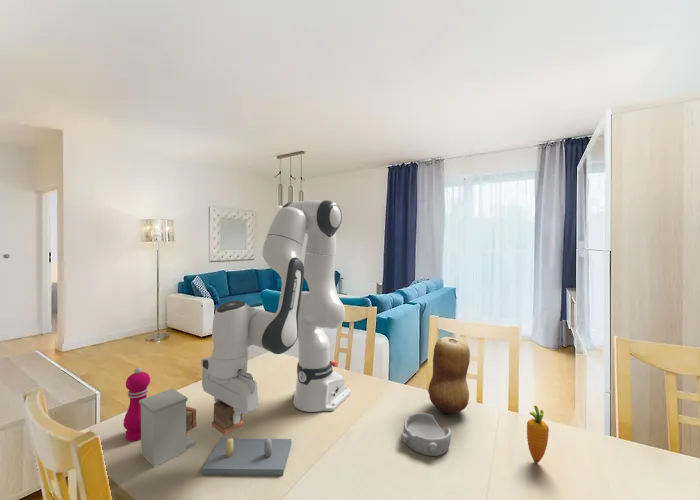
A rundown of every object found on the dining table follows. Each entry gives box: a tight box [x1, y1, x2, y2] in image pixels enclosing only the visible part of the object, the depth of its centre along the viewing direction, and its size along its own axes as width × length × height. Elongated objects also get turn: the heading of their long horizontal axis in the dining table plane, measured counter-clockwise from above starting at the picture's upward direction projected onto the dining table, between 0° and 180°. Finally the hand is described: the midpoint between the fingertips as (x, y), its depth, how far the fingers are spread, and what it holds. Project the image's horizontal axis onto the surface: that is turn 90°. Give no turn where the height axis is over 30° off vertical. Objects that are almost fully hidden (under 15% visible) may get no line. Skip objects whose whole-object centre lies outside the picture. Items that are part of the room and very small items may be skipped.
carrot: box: [526, 404, 550, 464], centre depth 86 cm, size 5×5×15 cm
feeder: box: [139, 388, 196, 468], centre depth 88 cm, size 11×9×15 cm
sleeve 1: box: [186, 406, 197, 433], centre depth 98 cm, size 6×6×5 cm
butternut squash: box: [427, 336, 471, 414], centre depth 111 cm, size 14×13×25 cm
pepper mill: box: [123, 367, 151, 442], centre depth 94 cm, size 7×7×20 cm
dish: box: [401, 412, 452, 457], centre depth 94 cm, size 14×14×5 cm
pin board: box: [201, 437, 292, 476], centre depth 86 cm, size 12×20×6 cm, turn 91°
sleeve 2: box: [211, 401, 244, 435], centre depth 84 cm, size 6×6×6 cm
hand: (228, 417), depth 84 cm, fingers closed on sleeve 2, 5 cm apart
